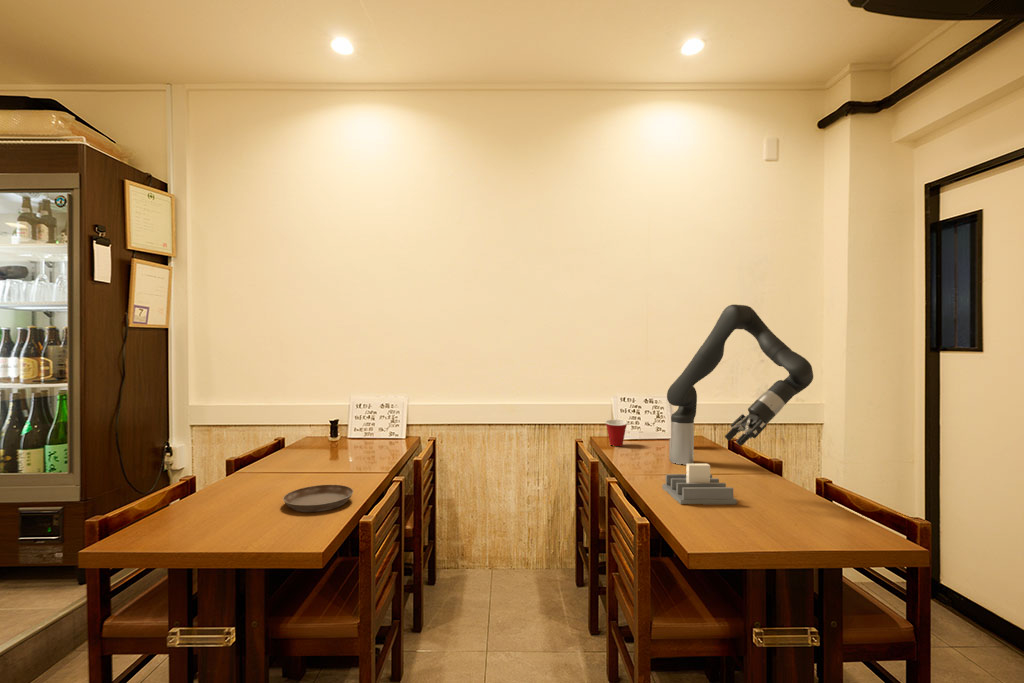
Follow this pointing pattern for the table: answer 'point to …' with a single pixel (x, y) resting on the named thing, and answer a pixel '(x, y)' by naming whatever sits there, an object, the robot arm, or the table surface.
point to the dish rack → (698, 491)
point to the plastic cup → (616, 431)
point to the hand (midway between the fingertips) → (732, 441)
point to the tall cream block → (697, 473)
